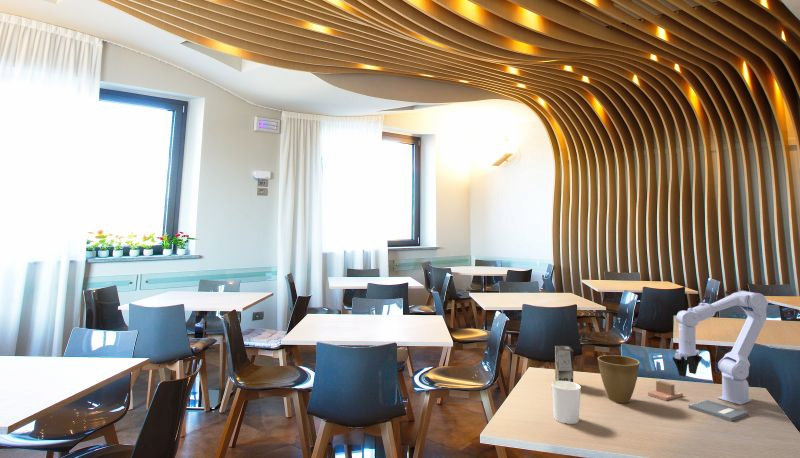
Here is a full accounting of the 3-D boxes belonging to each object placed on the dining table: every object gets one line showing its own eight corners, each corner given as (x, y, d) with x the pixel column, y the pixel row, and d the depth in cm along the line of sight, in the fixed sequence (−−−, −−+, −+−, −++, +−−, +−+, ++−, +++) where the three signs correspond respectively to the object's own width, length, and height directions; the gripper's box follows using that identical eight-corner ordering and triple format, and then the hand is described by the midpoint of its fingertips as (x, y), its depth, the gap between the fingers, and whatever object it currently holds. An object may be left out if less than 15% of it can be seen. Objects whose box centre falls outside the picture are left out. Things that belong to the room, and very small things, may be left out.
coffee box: (573, 388, 186) (573, 350, 187) (558, 387, 188) (558, 349, 188) (570, 382, 195) (569, 345, 196) (554, 380, 196) (554, 344, 197)
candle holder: (580, 416, 157) (580, 382, 157) (582, 426, 148) (581, 391, 148) (551, 412, 160) (551, 379, 161) (551, 422, 151) (551, 387, 151)
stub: (664, 390, 185) (664, 378, 185) (682, 395, 179) (682, 383, 179) (648, 394, 179) (647, 382, 179) (665, 400, 173) (665, 387, 173)
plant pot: (611, 391, 184) (611, 353, 184) (647, 402, 171) (647, 361, 171) (590, 397, 176) (589, 357, 176) (625, 410, 163) (625, 366, 163)
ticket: (705, 402, 171) (705, 399, 171) (747, 415, 159) (747, 411, 159) (688, 408, 165) (688, 404, 165) (731, 421, 153) (731, 417, 153)
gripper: (686, 337, 184) (686, 369, 183) (666, 340, 177) (667, 374, 176) (704, 340, 178) (705, 374, 177) (685, 344, 170) (685, 379, 170)
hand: (687, 374), depth 176 cm, fingers open, 7 cm apart
